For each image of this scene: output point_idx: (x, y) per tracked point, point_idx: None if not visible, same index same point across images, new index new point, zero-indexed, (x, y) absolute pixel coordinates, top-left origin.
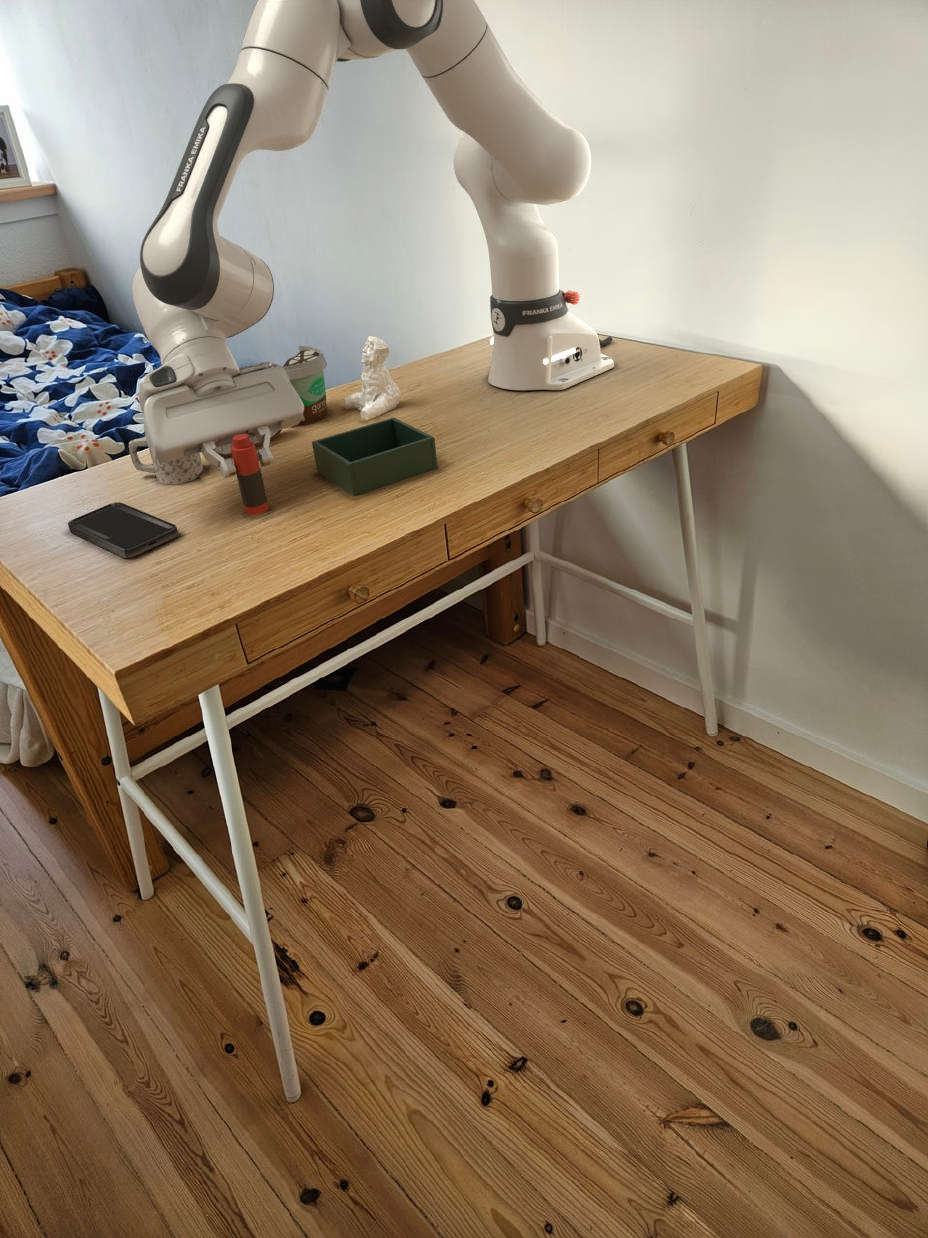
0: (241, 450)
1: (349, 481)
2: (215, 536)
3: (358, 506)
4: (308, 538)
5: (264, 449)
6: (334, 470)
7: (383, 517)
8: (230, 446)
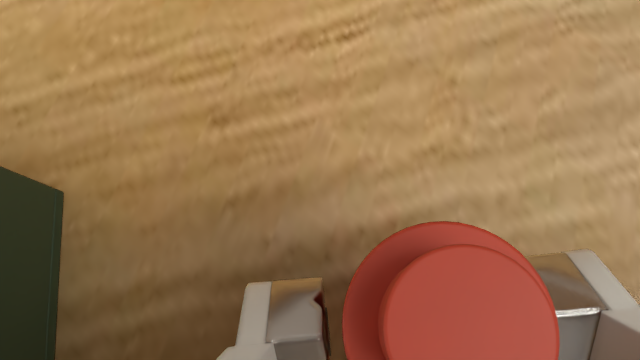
0: (480, 230)
1: (18, 190)
2: (585, 214)
3: (81, 135)
4: (306, 20)
5: (274, 330)
6: (1, 332)
7: (67, 21)
8: None
